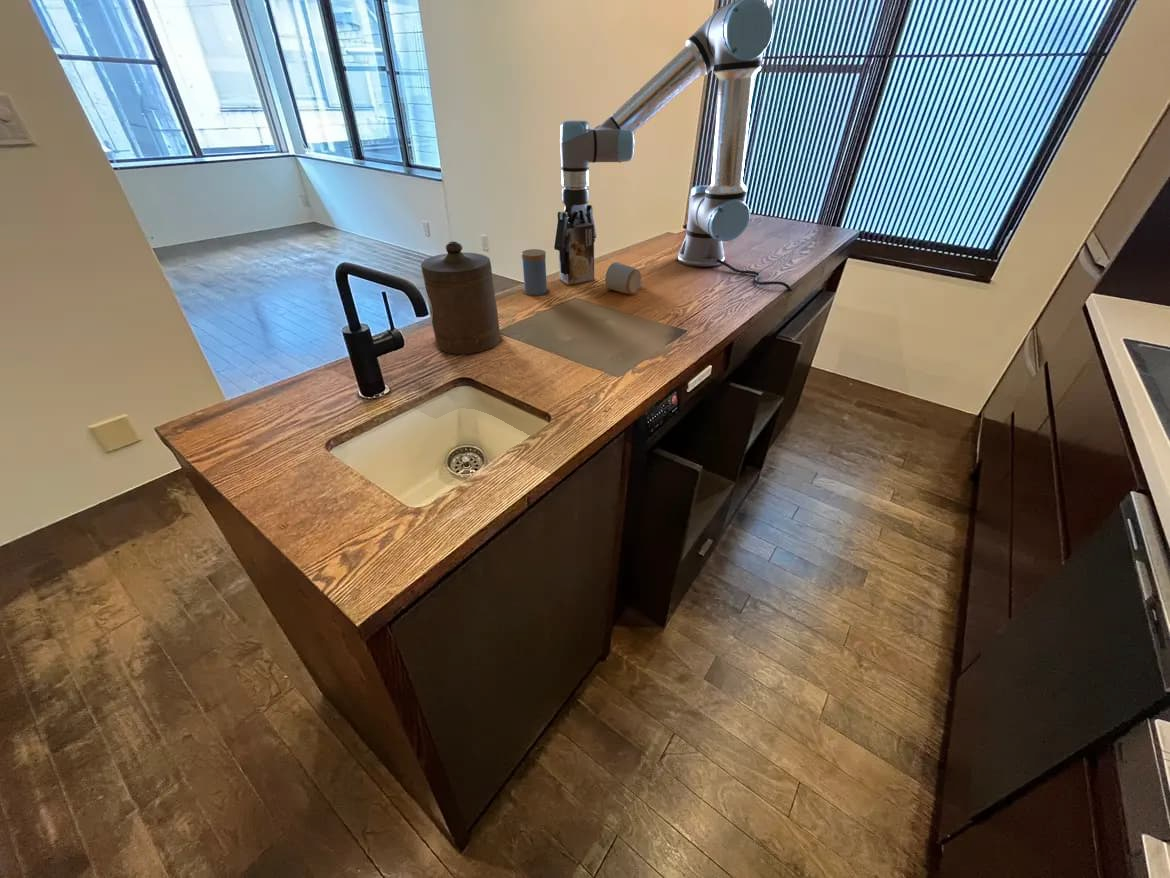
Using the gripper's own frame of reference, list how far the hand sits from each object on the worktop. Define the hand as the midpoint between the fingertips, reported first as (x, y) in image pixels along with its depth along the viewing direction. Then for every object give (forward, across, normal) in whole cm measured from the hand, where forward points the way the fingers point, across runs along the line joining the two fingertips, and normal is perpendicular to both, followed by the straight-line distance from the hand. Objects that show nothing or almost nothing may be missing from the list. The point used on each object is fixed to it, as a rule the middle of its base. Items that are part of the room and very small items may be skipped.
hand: (576, 268), depth 146 cm
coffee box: (+4, 0, 0) cm, 4 cm away
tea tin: (+3, +15, -4) cm, 16 cm away
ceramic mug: (+4, 0, +17) cm, 18 cm away
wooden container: (+4, +50, +5) cm, 50 cm away
